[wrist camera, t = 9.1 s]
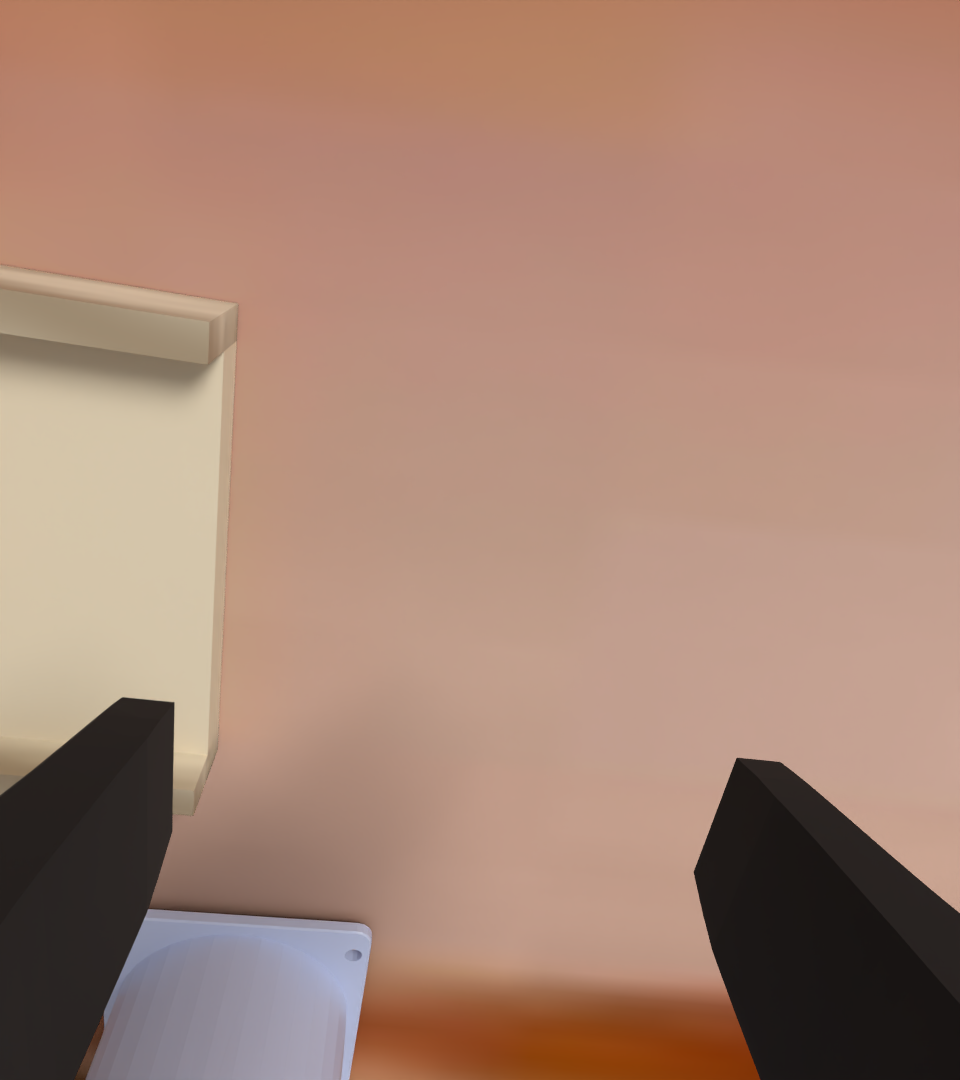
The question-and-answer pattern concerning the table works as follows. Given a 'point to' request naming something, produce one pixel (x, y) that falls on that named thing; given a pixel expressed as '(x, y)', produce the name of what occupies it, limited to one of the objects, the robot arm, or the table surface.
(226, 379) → the lane
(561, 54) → the table surface
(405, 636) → the table surface
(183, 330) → the rails
